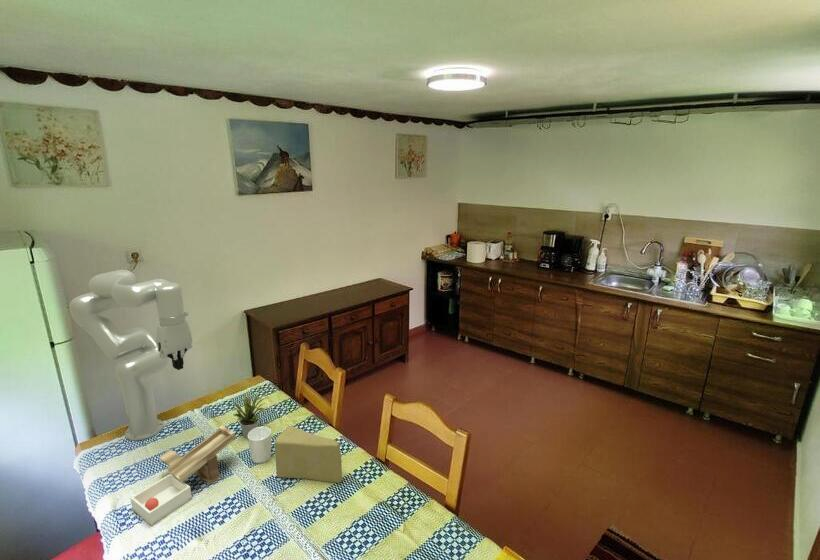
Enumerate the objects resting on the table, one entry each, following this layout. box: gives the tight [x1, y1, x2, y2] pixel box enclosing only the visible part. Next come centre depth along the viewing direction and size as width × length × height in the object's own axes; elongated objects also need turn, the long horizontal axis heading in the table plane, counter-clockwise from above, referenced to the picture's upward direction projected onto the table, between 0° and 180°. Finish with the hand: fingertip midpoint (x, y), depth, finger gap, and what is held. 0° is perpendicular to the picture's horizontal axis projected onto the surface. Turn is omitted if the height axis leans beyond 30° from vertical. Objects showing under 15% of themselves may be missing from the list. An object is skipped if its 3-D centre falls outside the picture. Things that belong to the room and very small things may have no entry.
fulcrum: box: [193, 454, 222, 485], centre depth 137 cm, size 10×4×9 cm, turn 59°
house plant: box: [229, 391, 269, 439], centre depth 157 cm, size 14×14×16 cm
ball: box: [145, 498, 159, 511], centre depth 123 cm, size 4×4×4 cm
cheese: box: [274, 425, 343, 484], centre depth 137 cm, size 22×10×15 cm, turn 75°
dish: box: [130, 473, 193, 527], centre depth 125 cm, size 11×12×4 cm
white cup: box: [247, 426, 272, 464], centre depth 146 cm, size 8×8×10 cm
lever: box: [158, 425, 237, 482], centre depth 137 cm, size 16×20×4 cm
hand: (178, 368), depth 142 cm, fingers closed
